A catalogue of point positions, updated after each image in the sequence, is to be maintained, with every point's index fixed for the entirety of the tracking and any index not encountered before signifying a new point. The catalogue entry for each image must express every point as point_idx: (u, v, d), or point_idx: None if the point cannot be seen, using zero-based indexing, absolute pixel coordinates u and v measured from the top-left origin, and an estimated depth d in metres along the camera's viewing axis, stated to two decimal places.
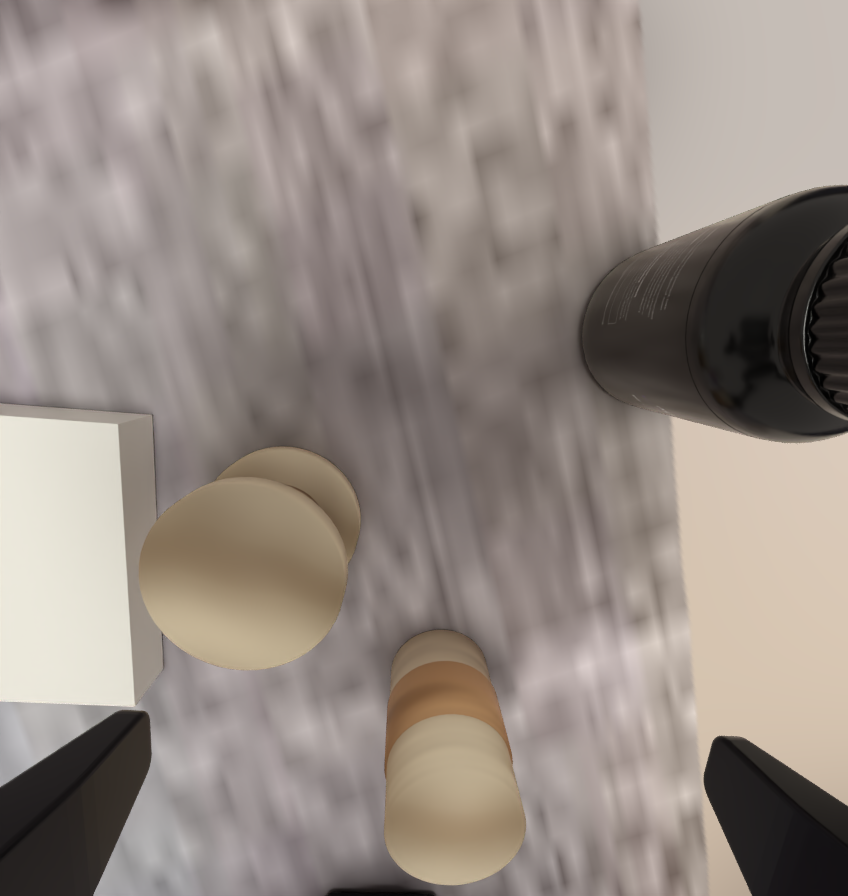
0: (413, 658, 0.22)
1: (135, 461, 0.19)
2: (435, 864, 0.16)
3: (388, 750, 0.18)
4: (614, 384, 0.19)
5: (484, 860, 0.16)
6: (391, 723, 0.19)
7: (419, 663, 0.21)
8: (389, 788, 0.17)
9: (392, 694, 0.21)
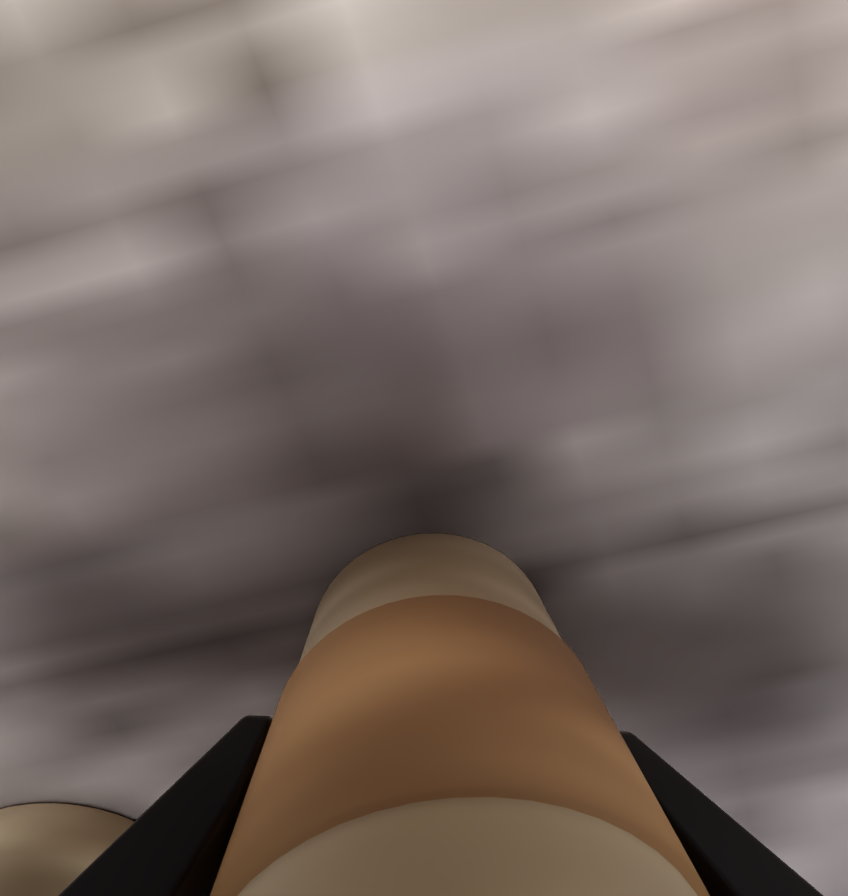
0: None
1: None
2: None
3: None
4: None
5: None
6: None
7: None
8: None
9: None
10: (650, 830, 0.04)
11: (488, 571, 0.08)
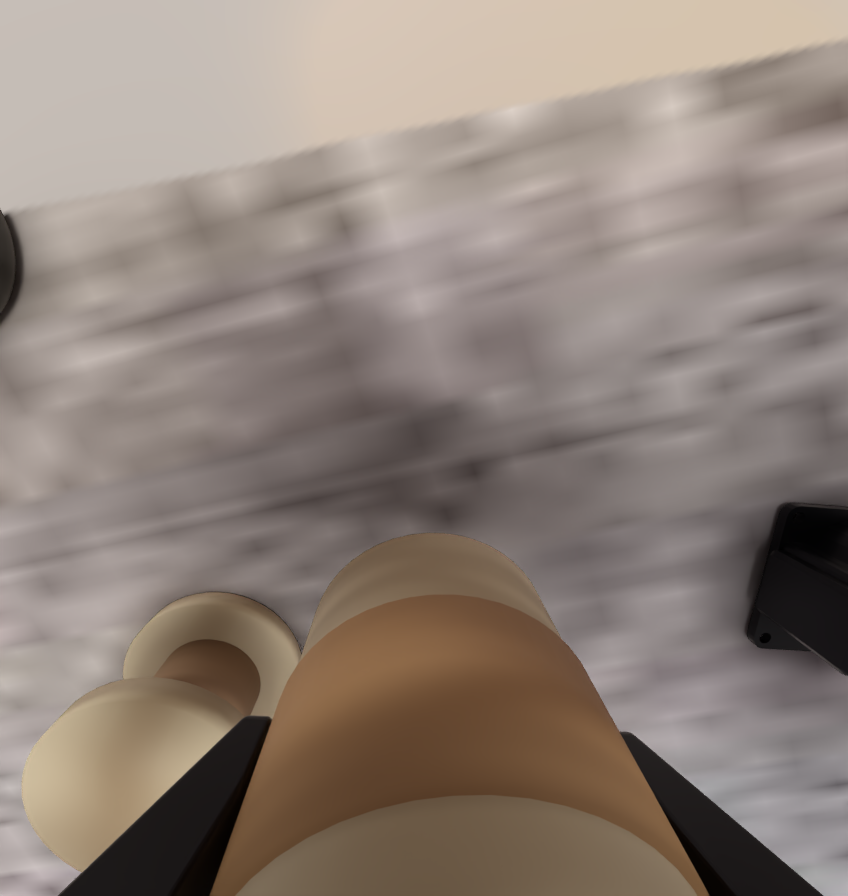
0: None
1: None
2: None
3: None
4: None
5: None
6: None
7: None
8: None
9: None
10: (649, 828, 0.04)
11: (487, 571, 0.08)
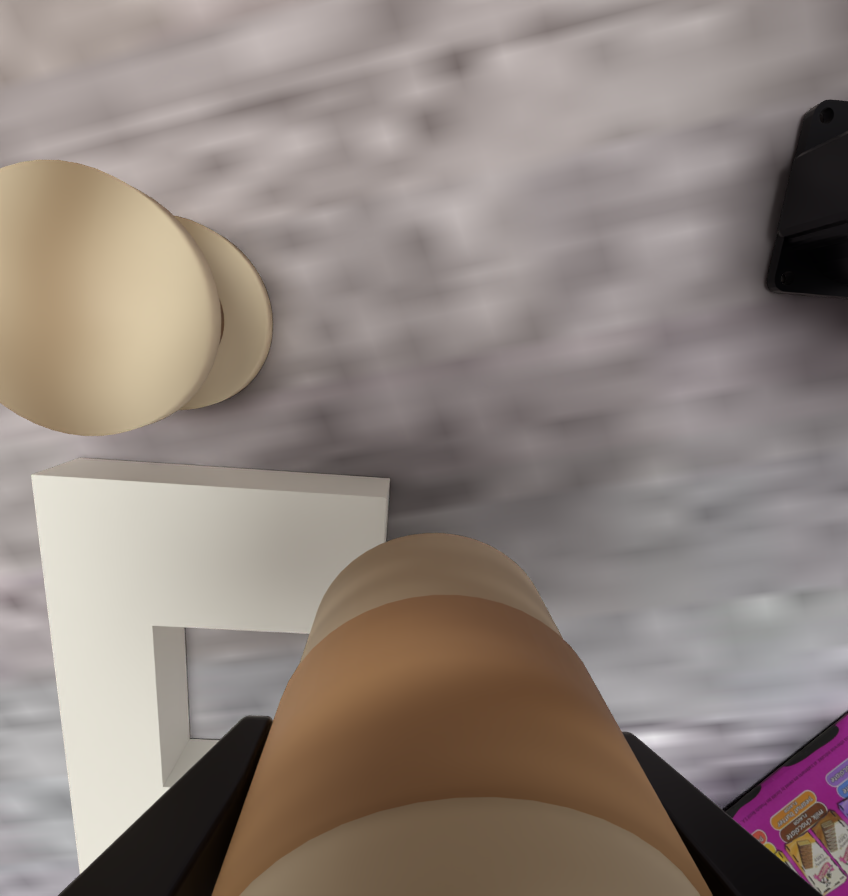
0: None
1: (99, 470, 0.18)
2: None
3: None
4: None
5: None
6: None
7: None
8: None
9: None
10: (653, 830, 0.04)
11: (489, 571, 0.08)
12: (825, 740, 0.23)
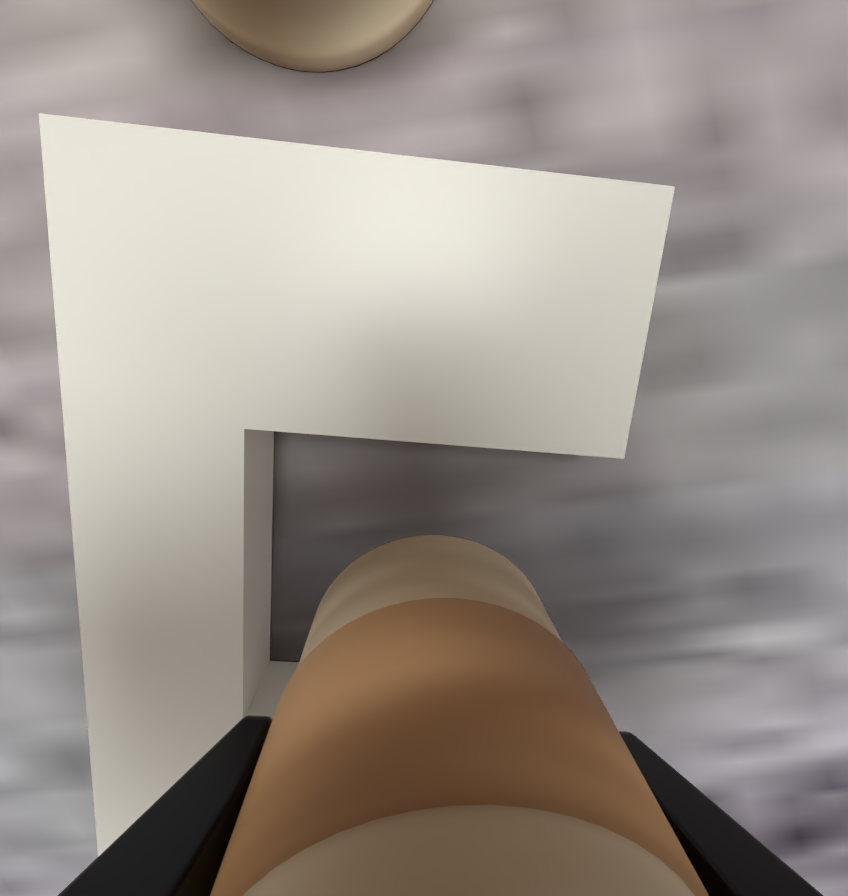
0: None
1: None
2: None
3: None
4: None
5: None
6: None
7: None
8: None
9: None
10: (653, 838, 0.04)
11: (489, 573, 0.08)
12: None
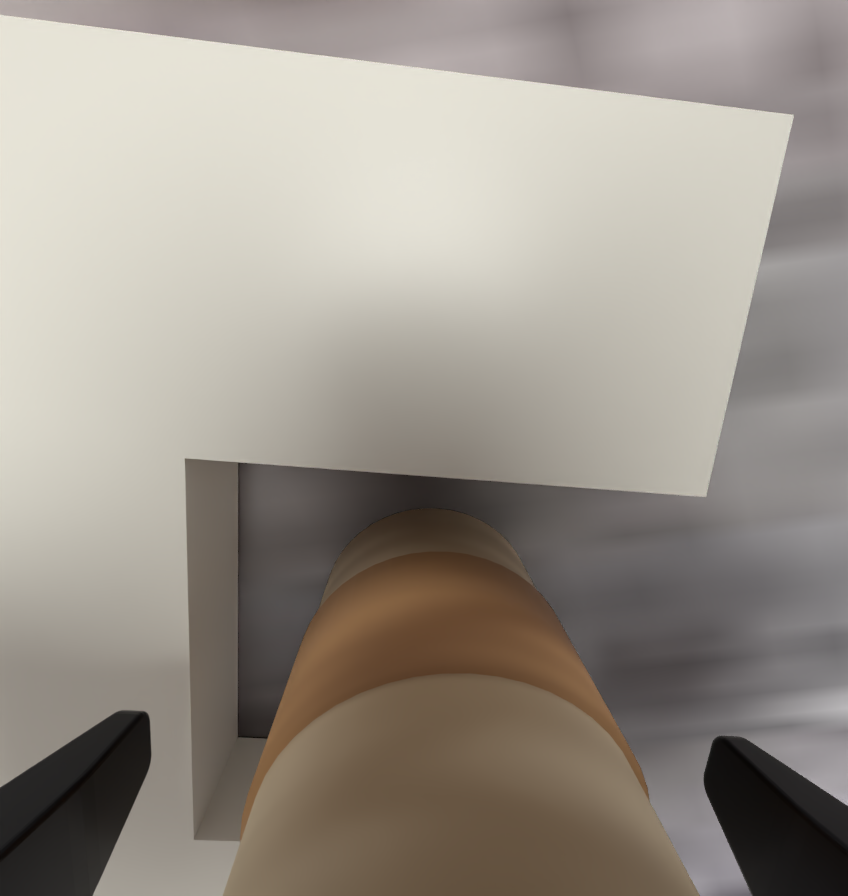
0: None
1: None
2: None
3: None
4: None
5: None
6: None
7: None
8: None
9: None
10: (588, 703, 0.06)
11: (476, 537, 0.09)
12: None
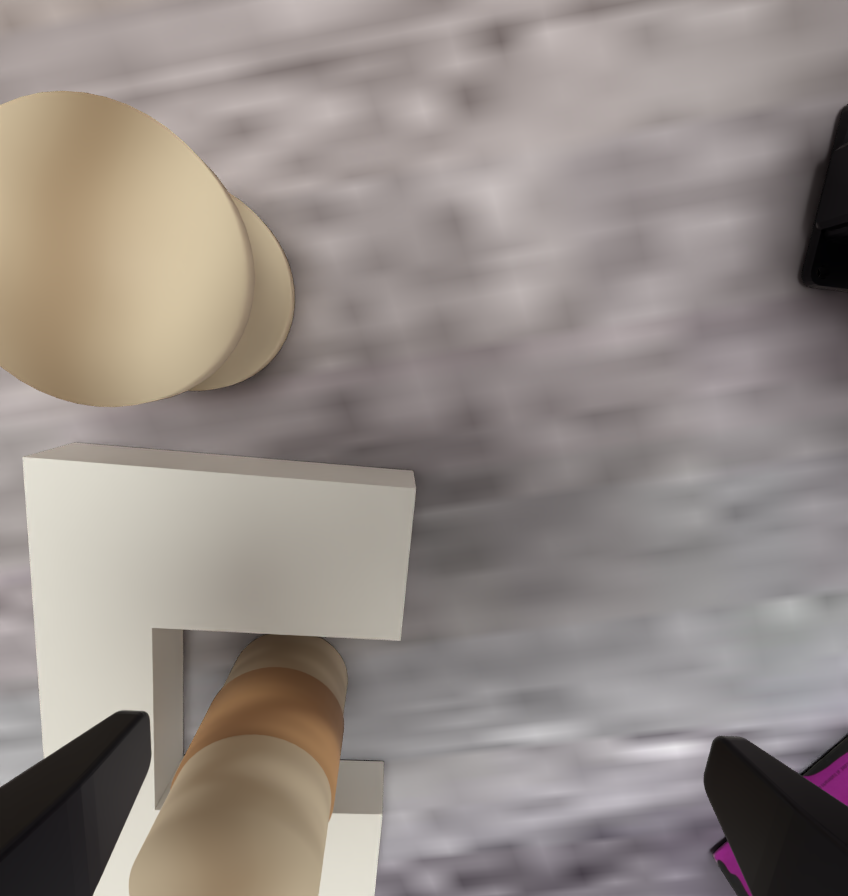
0: None
1: (99, 454, 0.16)
2: None
3: None
4: None
5: (276, 854, 0.12)
6: None
7: None
8: None
9: None
10: (303, 744, 0.15)
11: (304, 652, 0.19)
12: (847, 747, 0.22)
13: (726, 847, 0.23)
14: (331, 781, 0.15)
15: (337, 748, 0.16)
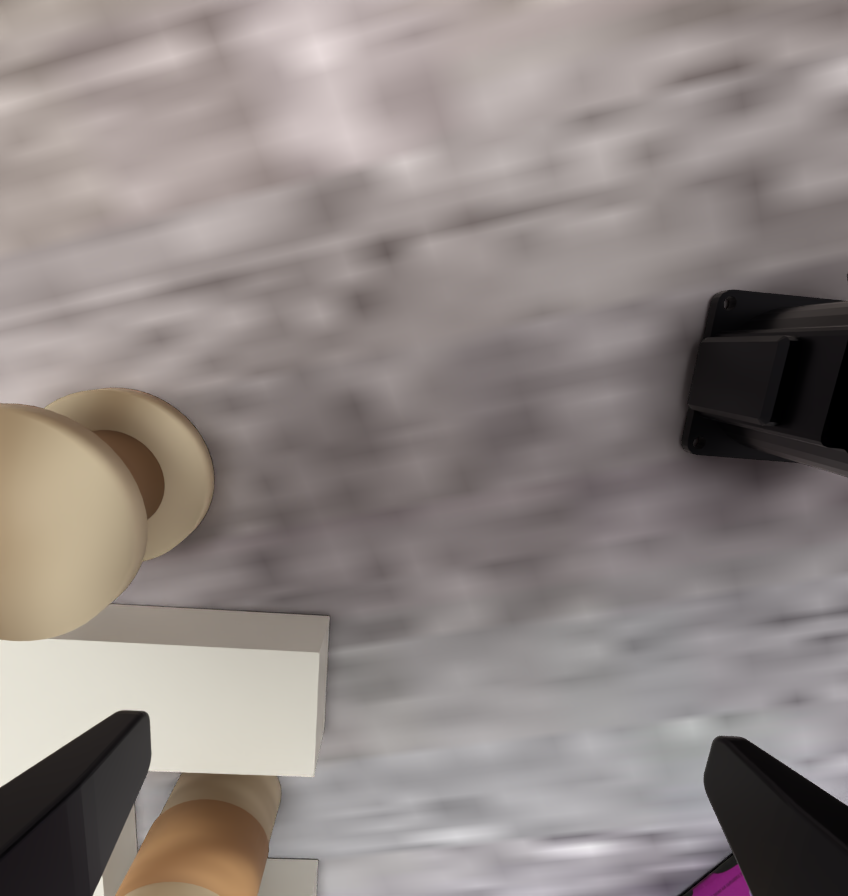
0: None
1: None
2: None
3: None
4: None
5: None
6: None
7: None
8: None
9: None
10: (216, 888, 0.17)
11: (235, 777, 0.21)
12: None
13: None
14: None
15: (254, 878, 0.18)
